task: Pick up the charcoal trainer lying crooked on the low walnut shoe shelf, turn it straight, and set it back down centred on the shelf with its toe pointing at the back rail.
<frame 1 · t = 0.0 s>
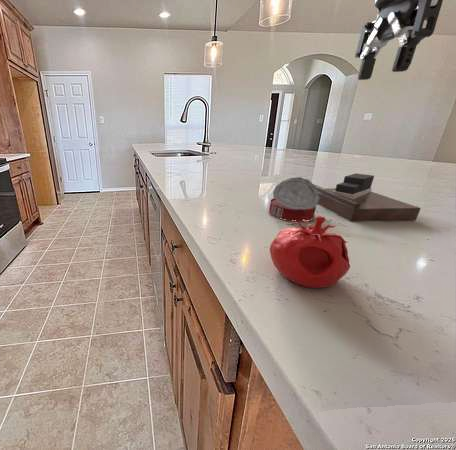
hand: (380, 75, 48), 29 cm above the counter, tool pointing down, fingers open, 8 cm apart
canned food: (290, 215, 60), on the counter
pomegranate: (303, 275, 37), on the counter
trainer: (351, 193, 64), point 3 cm above the counter, touching shoe shelf
shoe shelf: (354, 208, 63), on the counter
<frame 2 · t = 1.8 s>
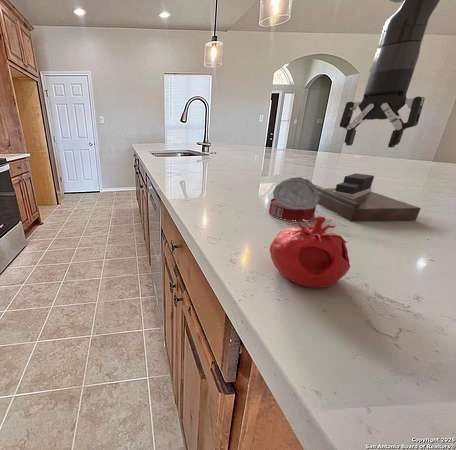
hand: (368, 146, 60), 15 cm above the counter, tool pointing down, fingers open, 8 cm apart
nothing on the counter moved.
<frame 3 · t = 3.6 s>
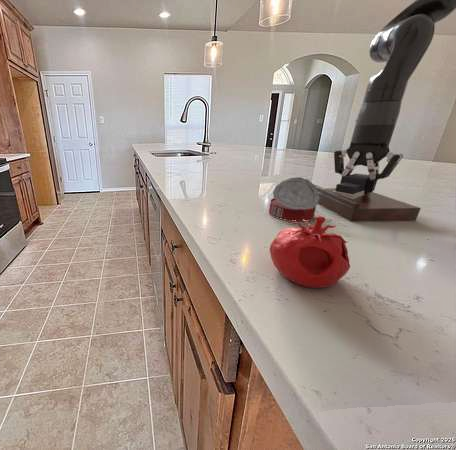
hand: (354, 191, 65), 3 cm above the counter, tool pointing down, fingers closed on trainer, 4 cm apart
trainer: (351, 193, 64), point 3 cm above the counter, touching gripper, shoe shelf
everything else where it was.
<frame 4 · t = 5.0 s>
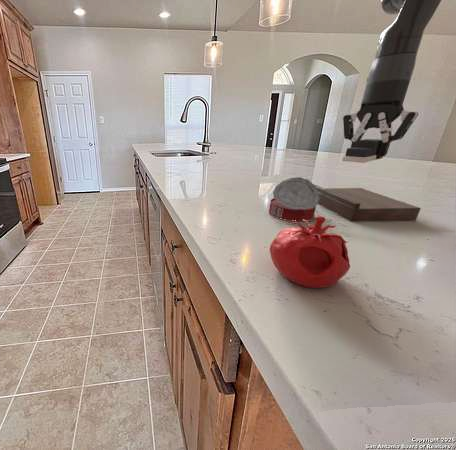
hand: (365, 157, 62), 12 cm above the counter, tool pointing down, fingers closed on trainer, 4 cm apart
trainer: (362, 159, 61), point 12 cm above the counter, touching gripper
everything else where it was.
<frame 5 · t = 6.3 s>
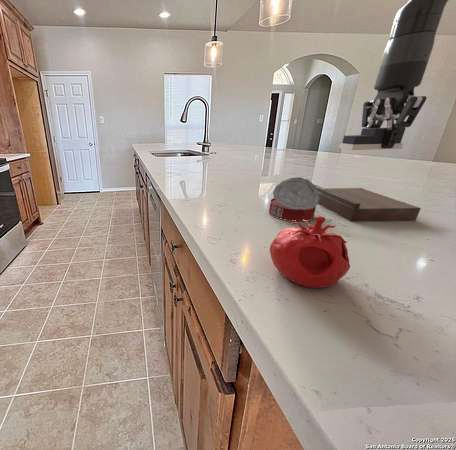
hand: (377, 146, 58), 15 cm above the counter, tool pointing down, fingers closed on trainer, 4 cm apart
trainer: (369, 148, 58), point 15 cm above the counter, touching gripper
everything else where it was.
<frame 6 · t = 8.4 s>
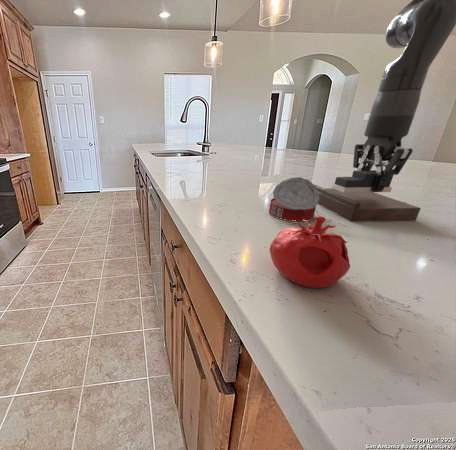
hand: (367, 188, 61), 5 cm above the counter, tool pointing down, fingers closed on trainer, 4 cm apart
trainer: (360, 190, 61), point 5 cm above the counter, touching gripper
everything else where it was.
when the fingers open (3 cm above the counter, at t = 9.4 s): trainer stays where it is, resting on shoe shelf.
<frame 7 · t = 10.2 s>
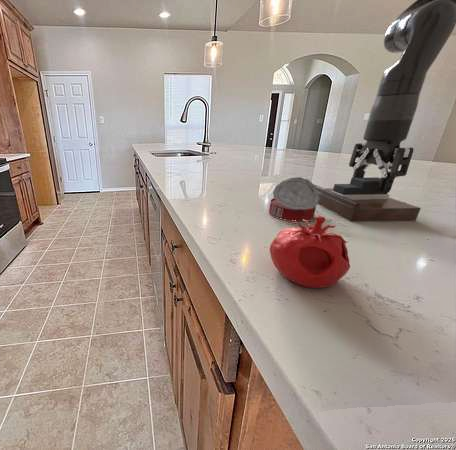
hand: (368, 188, 61), 5 cm above the counter, tool pointing down, fingers open, 8 cm apart
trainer: (357, 197, 62), point 3 cm above the counter, touching shoe shelf
everything else where it was.
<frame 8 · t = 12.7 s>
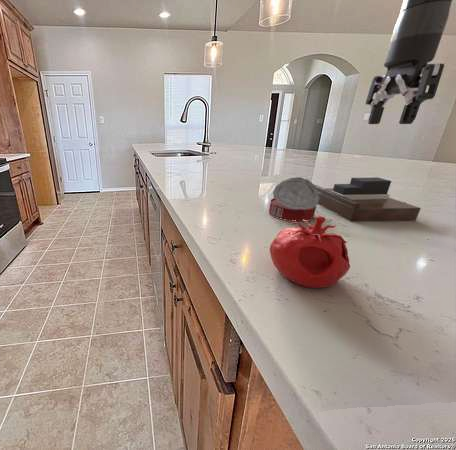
hand: (388, 124, 55), 20 cm above the counter, tool pointing down, fingers open, 8 cm apart
nothing on the counter moved.
at the end: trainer 0.0 cm off-centre on the shoe shelf, point 3.0 cm above the shoe shelf's base; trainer tilted 0°; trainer moved 3.1 cm from its start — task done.
